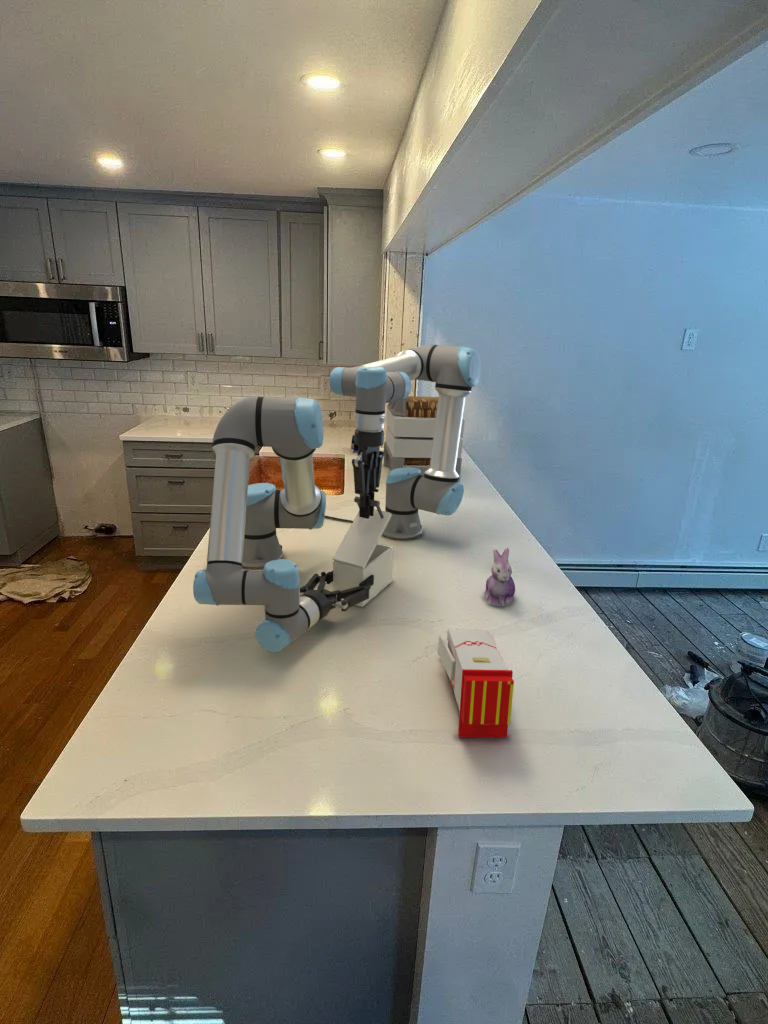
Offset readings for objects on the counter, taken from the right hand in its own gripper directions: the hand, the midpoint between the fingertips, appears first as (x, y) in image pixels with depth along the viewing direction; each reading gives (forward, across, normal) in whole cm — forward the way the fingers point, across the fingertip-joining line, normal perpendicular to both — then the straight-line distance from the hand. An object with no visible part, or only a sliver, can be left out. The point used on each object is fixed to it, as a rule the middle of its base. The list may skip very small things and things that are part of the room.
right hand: (366, 516), depth 152 cm
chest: (+22, 0, 0) cm, 22 cm away
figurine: (+22, +15, -35) cm, 44 cm away
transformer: (+22, +119, +38) cm, 126 cm away
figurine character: (+22, +139, +85) cm, 164 cm away
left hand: (+16, -4, 0) cm, 16 cm away
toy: (+22, -28, -42) cm, 54 cm away
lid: (+6, -1, 0) cm, 6 cm away
